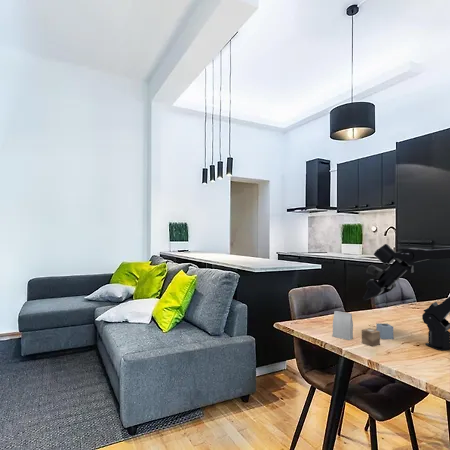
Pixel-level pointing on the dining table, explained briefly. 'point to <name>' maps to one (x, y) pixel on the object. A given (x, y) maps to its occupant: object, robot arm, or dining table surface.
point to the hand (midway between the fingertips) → (368, 298)
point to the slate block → (385, 330)
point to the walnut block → (371, 337)
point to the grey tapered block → (342, 325)
